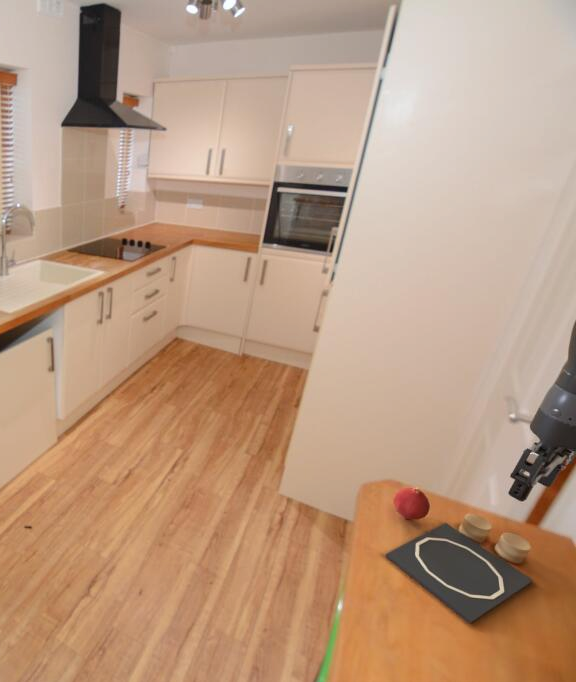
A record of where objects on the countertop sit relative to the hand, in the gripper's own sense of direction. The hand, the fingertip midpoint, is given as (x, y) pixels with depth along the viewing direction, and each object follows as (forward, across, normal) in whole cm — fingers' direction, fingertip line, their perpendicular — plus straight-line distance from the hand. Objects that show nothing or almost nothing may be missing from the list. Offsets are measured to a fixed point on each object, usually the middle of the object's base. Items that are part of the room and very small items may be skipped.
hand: (529, 490), depth 80 cm
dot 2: (+14, 0, -2) cm, 14 cm away
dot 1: (+14, -1, +4) cm, 15 cm away
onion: (+15, -8, +12) cm, 21 cm away
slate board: (+14, -12, 0) cm, 19 cm away
